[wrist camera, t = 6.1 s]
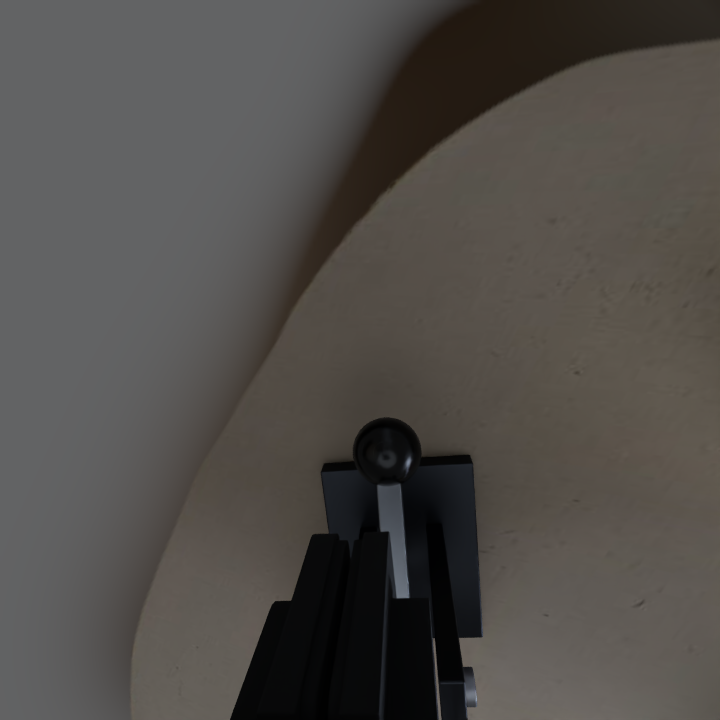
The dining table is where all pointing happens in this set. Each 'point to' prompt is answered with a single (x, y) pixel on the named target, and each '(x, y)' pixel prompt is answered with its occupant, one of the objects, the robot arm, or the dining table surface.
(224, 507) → the dining table surface
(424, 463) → the switch bracket
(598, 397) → the dining table surface
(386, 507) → the switch lever
